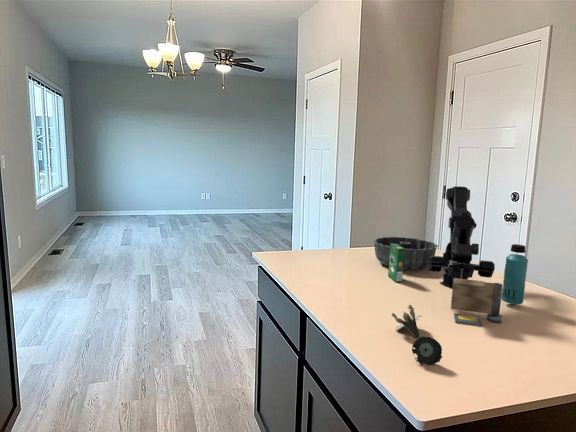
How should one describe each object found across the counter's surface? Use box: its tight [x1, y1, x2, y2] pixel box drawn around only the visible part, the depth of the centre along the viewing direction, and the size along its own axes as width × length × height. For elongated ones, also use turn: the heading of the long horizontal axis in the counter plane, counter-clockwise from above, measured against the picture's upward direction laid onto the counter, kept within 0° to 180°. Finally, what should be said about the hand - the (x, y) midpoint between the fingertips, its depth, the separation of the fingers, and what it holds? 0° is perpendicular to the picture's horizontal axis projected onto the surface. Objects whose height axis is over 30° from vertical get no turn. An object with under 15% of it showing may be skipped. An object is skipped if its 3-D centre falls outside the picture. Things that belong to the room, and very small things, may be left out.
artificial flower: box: [391, 304, 443, 366], centre depth 110 cm, size 9×22×10 cm, turn 173°
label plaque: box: [453, 312, 483, 327], centre depth 126 cm, size 7×6×1 cm
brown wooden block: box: [450, 278, 503, 316], centre depth 125 cm, size 13×7×10 cm, turn 73°
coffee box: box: [387, 243, 405, 283], centre depth 163 cm, size 8×3×13 cm, turn 8°
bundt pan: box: [372, 236, 439, 271], centre depth 185 cm, size 26×26×10 cm
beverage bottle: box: [501, 243, 529, 305], centre depth 138 cm, size 6×7×20 cm
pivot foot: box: [485, 313, 503, 324], centre depth 127 cm, size 4×4×2 cm
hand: (460, 290), depth 131 cm, fingers closed
